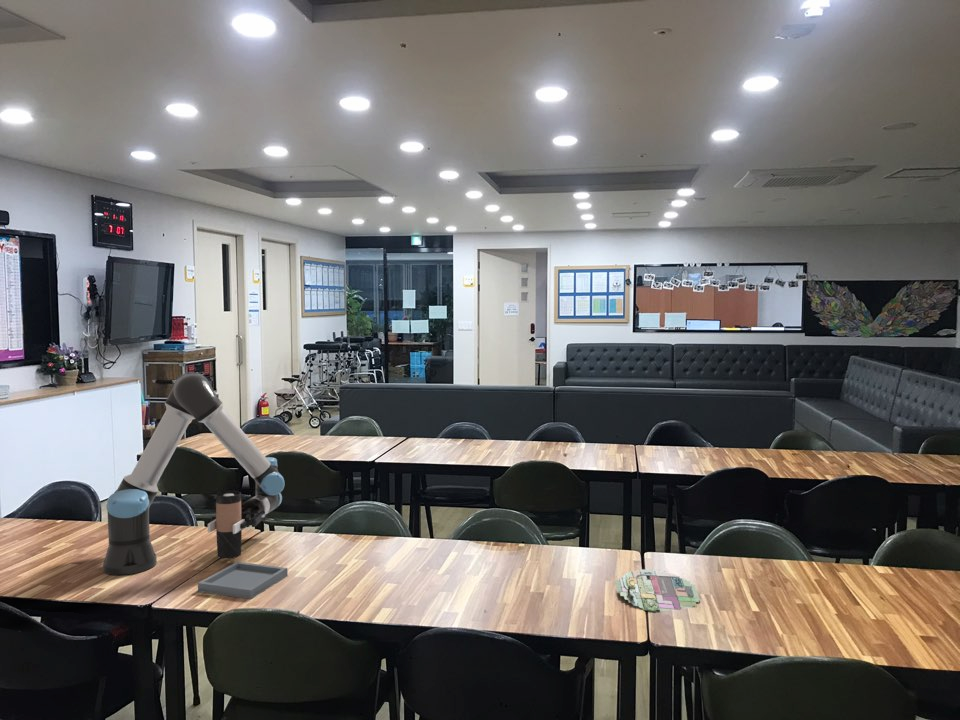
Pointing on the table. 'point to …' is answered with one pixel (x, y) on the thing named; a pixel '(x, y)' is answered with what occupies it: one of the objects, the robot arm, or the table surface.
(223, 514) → the travel mug
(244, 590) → the slate tray
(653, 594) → the city model
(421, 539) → the table surface
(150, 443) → the robot arm
